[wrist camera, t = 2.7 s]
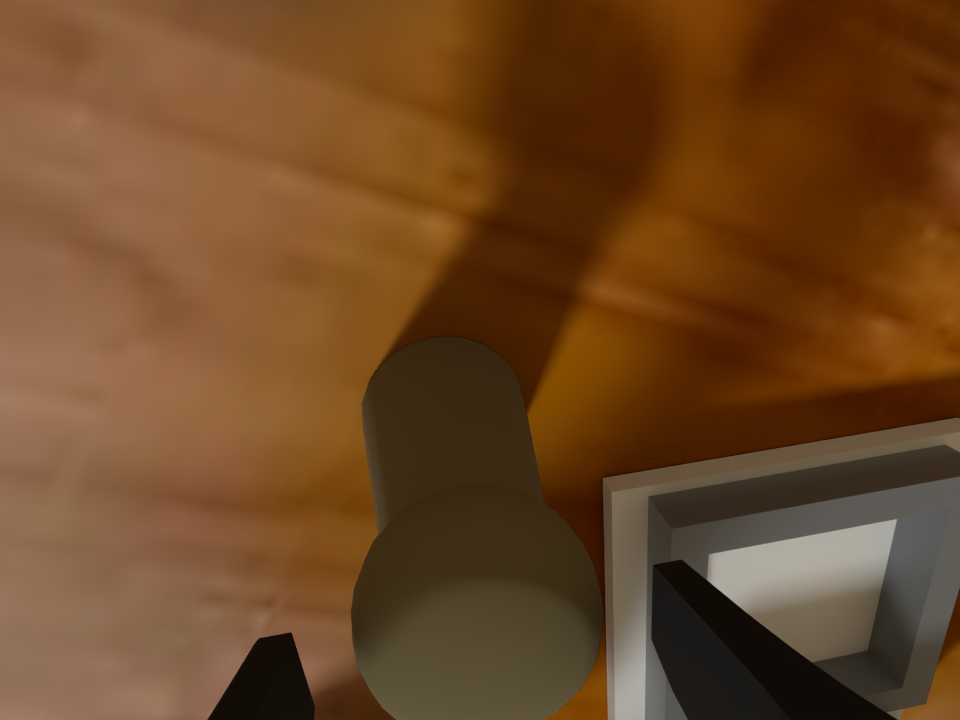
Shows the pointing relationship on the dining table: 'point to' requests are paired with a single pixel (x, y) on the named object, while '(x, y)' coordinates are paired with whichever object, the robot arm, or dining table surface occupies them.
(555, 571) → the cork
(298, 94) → the dining table surface
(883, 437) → the socket block
